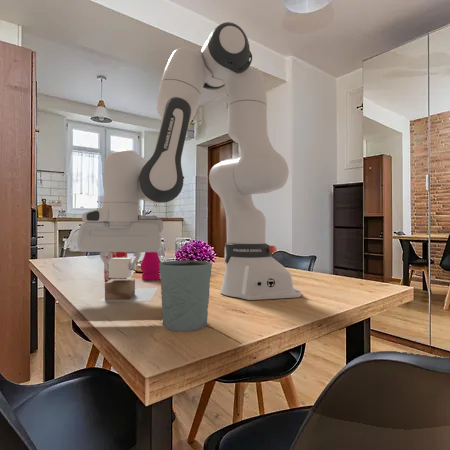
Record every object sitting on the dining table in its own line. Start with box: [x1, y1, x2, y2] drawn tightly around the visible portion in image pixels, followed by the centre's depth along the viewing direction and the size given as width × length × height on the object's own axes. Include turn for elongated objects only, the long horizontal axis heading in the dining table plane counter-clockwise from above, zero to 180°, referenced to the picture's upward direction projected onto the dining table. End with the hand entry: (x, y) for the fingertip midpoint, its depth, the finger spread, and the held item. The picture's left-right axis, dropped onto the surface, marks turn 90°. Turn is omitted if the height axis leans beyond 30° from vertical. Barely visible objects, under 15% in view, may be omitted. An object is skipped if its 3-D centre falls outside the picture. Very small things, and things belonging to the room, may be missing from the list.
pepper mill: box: [140, 252, 162, 281], centre depth 115 cm, size 7×7×20 cm
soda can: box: [103, 252, 128, 284], centre depth 105 cm, size 7×7×12 cm
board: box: [97, 287, 159, 303], centre depth 85 cm, size 12×16×1 cm
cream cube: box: [109, 257, 133, 279], centre depth 82 cm, size 4×4×4 cm
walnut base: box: [104, 278, 136, 300], centre depth 82 cm, size 6×6×4 cm
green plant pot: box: [159, 260, 213, 332], centre depth 63 cm, size 10×10×12 cm
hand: (120, 269), depth 82 cm, fingers closed on cream cube, 4 cm apart
